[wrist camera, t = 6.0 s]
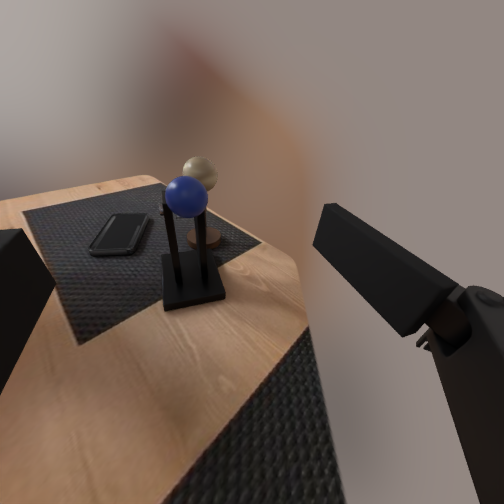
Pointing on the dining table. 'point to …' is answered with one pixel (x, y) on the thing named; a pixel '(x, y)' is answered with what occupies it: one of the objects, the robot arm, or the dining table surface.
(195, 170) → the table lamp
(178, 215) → the switch lever
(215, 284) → the switch bracket
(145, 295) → the dining table surface
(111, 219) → the phone
